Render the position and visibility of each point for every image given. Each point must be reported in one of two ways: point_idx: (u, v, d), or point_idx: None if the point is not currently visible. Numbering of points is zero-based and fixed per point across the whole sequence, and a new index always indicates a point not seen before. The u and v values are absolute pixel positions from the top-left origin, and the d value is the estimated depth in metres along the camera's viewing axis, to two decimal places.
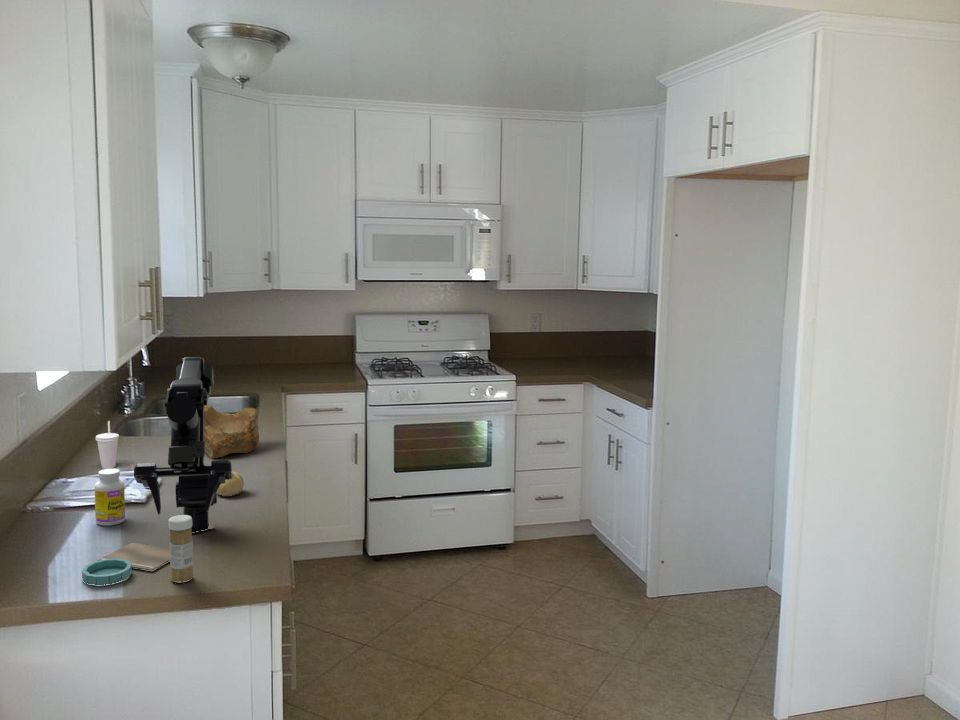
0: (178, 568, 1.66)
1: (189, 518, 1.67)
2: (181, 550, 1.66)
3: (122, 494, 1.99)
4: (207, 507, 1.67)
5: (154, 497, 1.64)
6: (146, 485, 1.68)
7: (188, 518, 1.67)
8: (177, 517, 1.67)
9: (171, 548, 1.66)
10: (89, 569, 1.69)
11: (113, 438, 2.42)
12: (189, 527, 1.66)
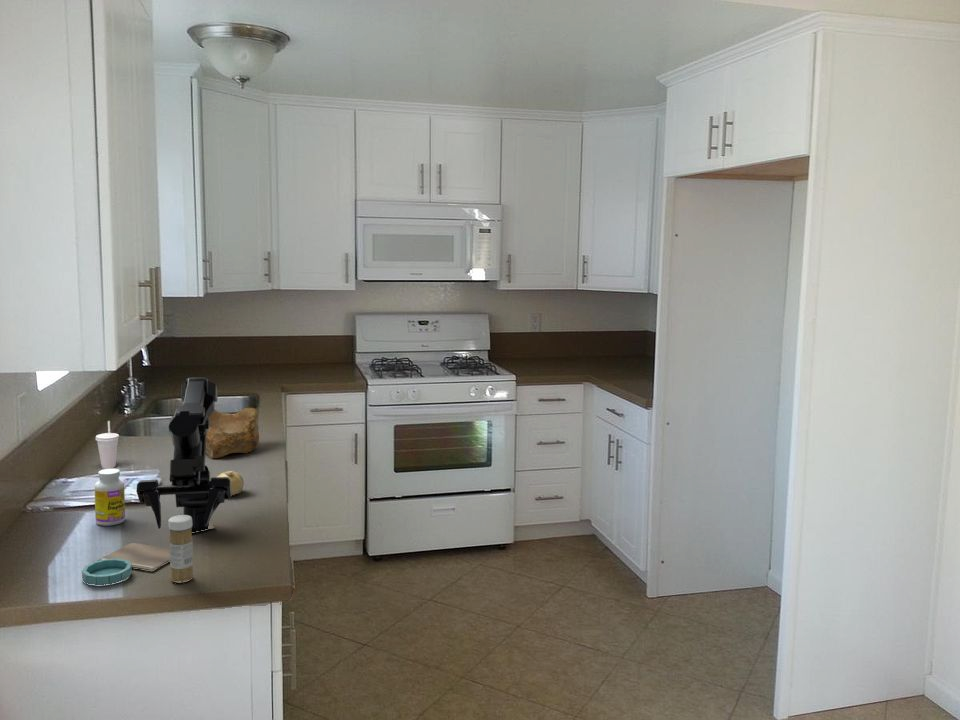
0: (178, 568, 1.66)
1: (189, 518, 1.67)
2: (181, 550, 1.66)
3: (122, 494, 1.99)
4: (206, 521, 1.71)
5: (155, 511, 1.70)
6: (148, 503, 1.74)
7: (188, 518, 1.67)
8: (177, 517, 1.67)
9: (171, 548, 1.66)
10: (89, 569, 1.69)
11: (113, 438, 2.42)
12: (189, 527, 1.66)
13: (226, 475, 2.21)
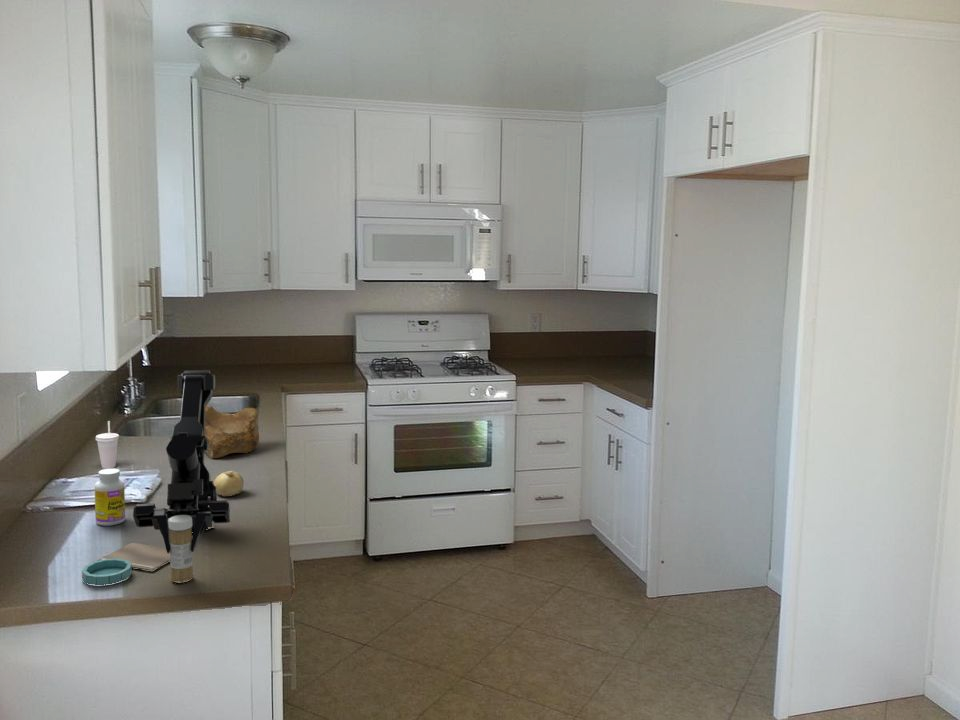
0: (178, 568, 1.66)
1: (189, 518, 1.67)
2: (181, 550, 1.66)
3: (122, 494, 1.99)
4: (192, 546, 1.67)
5: (164, 536, 1.67)
6: (156, 527, 1.70)
7: (188, 518, 1.67)
8: (177, 517, 1.67)
9: (171, 548, 1.66)
10: (89, 569, 1.69)
11: (113, 438, 2.42)
12: (189, 527, 1.66)
13: (226, 475, 2.21)
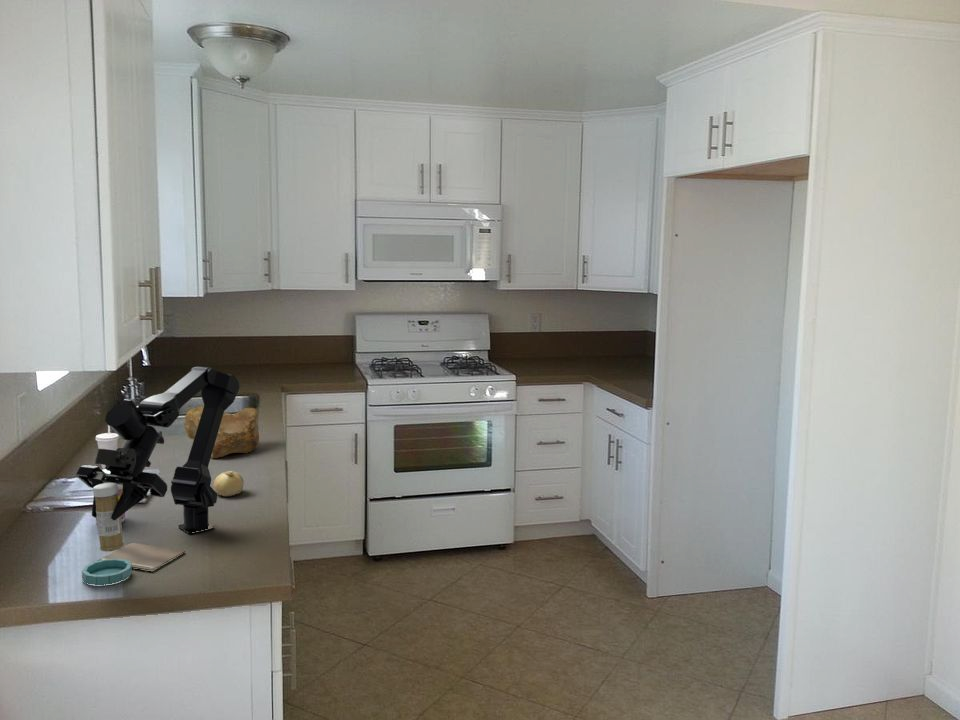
0: (100, 535, 1.66)
1: (111, 486, 1.65)
2: (102, 517, 1.65)
3: None
4: (113, 515, 1.65)
5: (94, 499, 1.68)
6: None
7: (110, 486, 1.65)
8: (104, 484, 1.67)
9: None
10: (89, 569, 1.69)
11: (113, 438, 2.42)
12: (109, 495, 1.65)
13: (226, 475, 2.21)
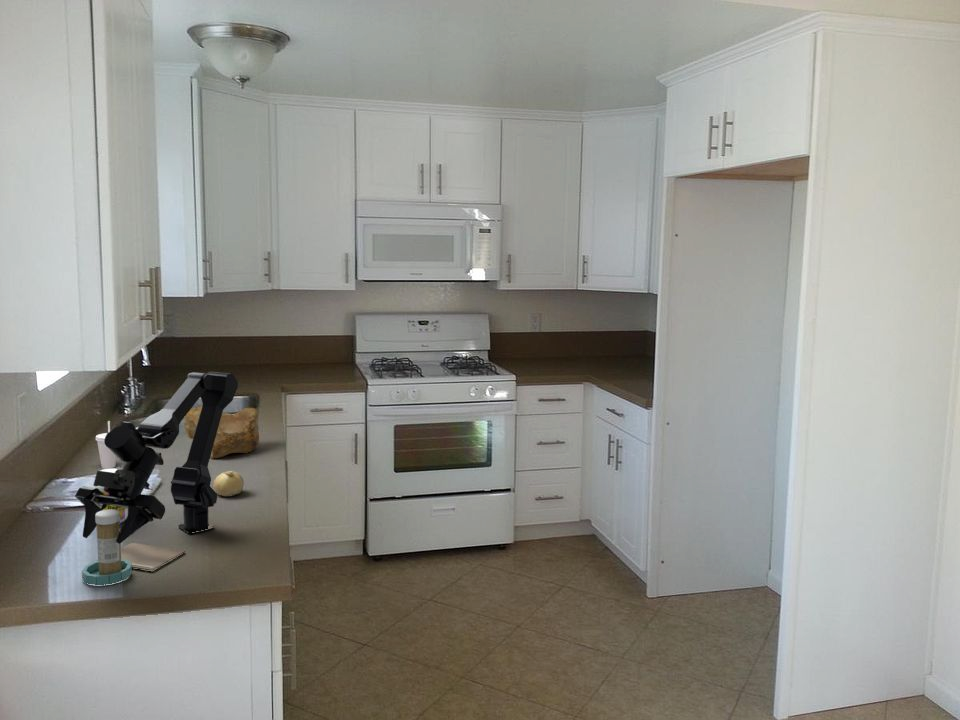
0: (100, 562, 1.67)
1: (113, 514, 1.66)
2: (102, 544, 1.66)
3: None
4: (118, 538, 1.65)
5: (85, 520, 1.69)
6: None
7: (112, 514, 1.66)
8: (106, 511, 1.68)
9: (97, 540, 1.67)
10: (89, 569, 1.69)
11: None
12: (110, 523, 1.66)
13: (226, 475, 2.21)
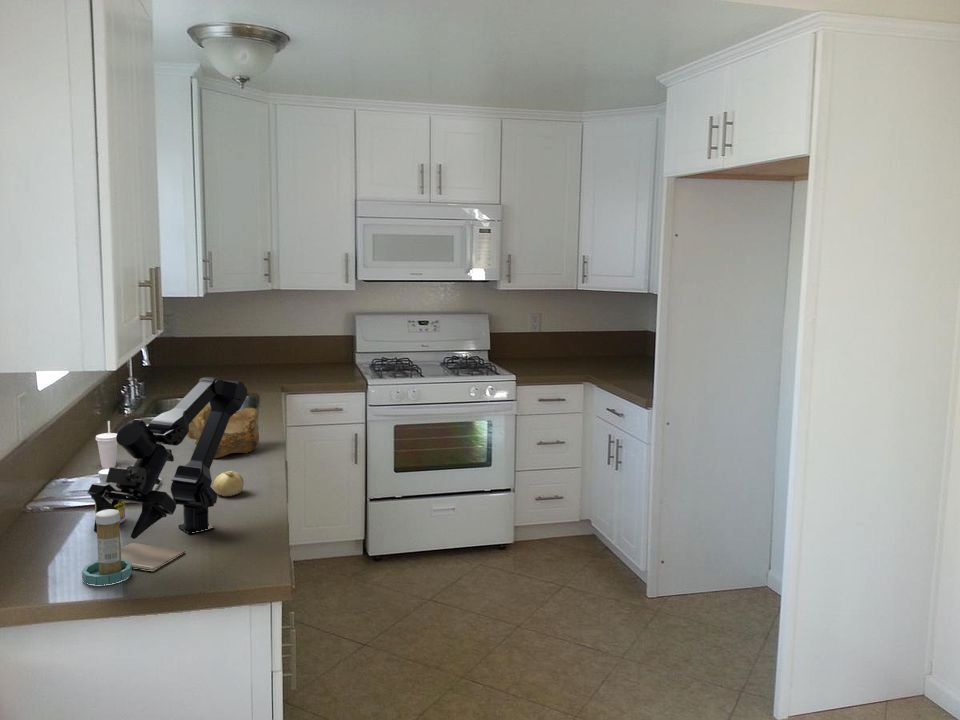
0: (100, 562, 1.67)
1: (113, 514, 1.66)
2: (102, 544, 1.66)
3: None
4: (132, 533, 1.69)
5: None
6: None
7: (112, 514, 1.66)
8: (106, 511, 1.68)
9: (97, 540, 1.67)
10: (89, 569, 1.69)
11: (113, 438, 2.42)
12: (110, 523, 1.66)
13: (226, 475, 2.21)
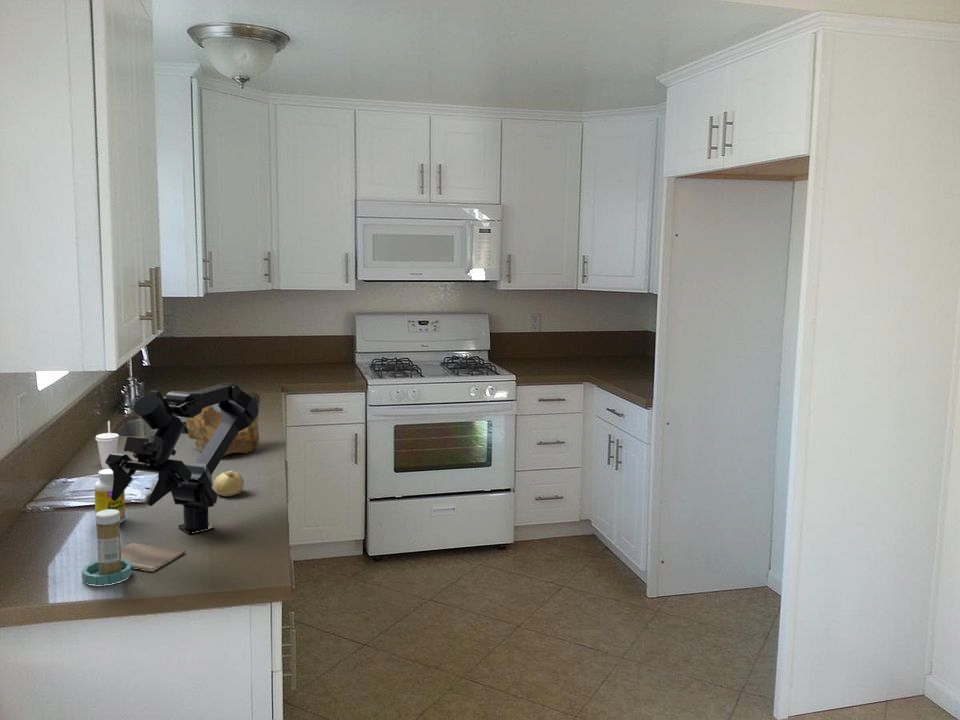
0: (100, 562, 1.67)
1: (113, 514, 1.66)
2: (102, 544, 1.66)
3: (122, 494, 1.99)
4: (149, 501, 1.73)
5: (113, 484, 1.77)
6: None
7: (112, 514, 1.66)
8: (107, 511, 1.68)
9: (97, 540, 1.67)
10: (89, 569, 1.69)
11: (113, 438, 2.42)
12: (110, 523, 1.66)
13: (226, 475, 2.21)
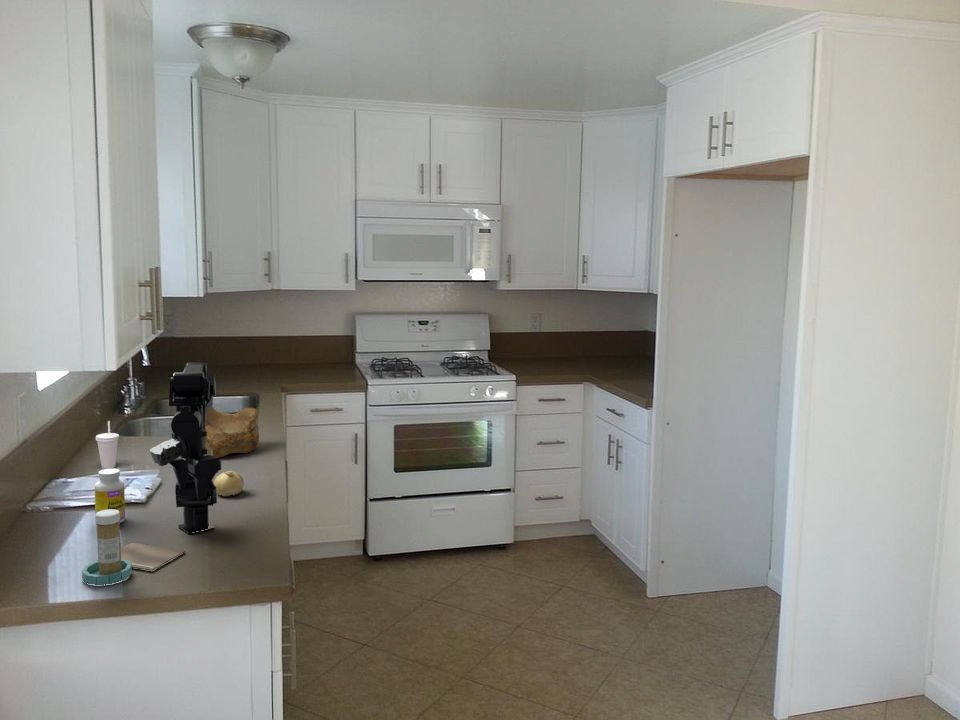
0: (100, 562, 1.67)
1: (113, 514, 1.66)
2: (102, 544, 1.66)
3: (122, 494, 1.99)
4: (197, 497, 1.82)
5: (176, 476, 1.89)
6: None
7: (112, 514, 1.66)
8: (106, 511, 1.68)
9: (97, 540, 1.67)
10: (89, 569, 1.69)
11: (113, 438, 2.42)
12: (110, 523, 1.66)
13: (226, 475, 2.21)
